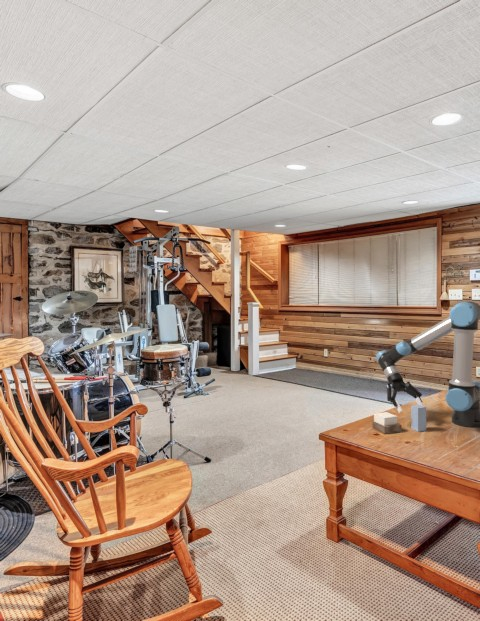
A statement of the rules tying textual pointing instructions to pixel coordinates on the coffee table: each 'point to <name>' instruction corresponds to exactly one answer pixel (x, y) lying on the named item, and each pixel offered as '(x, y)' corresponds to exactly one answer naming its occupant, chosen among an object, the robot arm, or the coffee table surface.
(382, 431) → the walnut tower slab
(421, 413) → the slate-blue pillar
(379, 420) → the cream tower block
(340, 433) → the coffee table surface
